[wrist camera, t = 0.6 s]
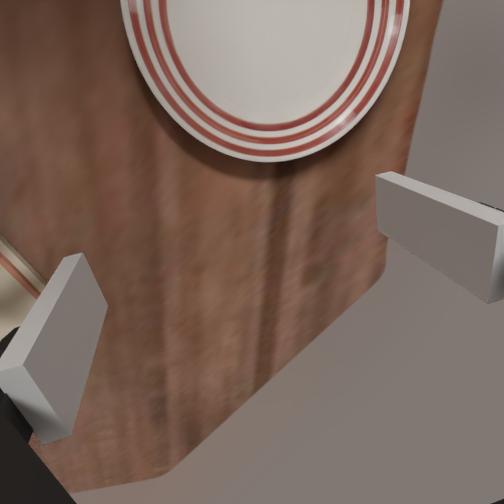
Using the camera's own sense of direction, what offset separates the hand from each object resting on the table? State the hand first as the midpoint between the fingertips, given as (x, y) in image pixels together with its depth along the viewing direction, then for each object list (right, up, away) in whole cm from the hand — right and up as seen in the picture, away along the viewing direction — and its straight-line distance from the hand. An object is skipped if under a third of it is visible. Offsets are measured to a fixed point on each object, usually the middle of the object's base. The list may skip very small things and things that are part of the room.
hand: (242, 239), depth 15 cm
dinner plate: (+2, +23, +19) cm, 30 cm away
